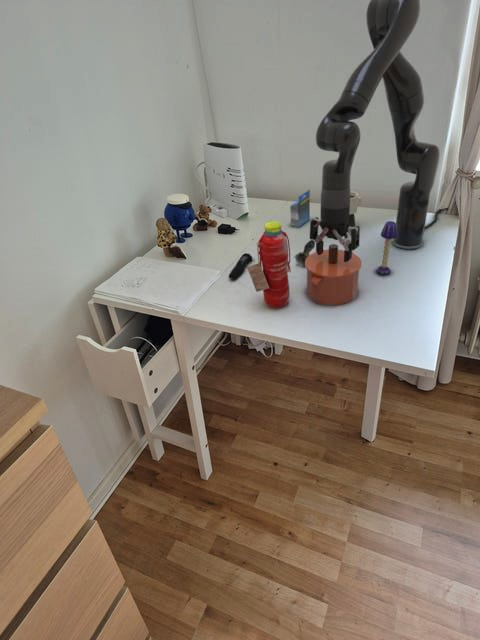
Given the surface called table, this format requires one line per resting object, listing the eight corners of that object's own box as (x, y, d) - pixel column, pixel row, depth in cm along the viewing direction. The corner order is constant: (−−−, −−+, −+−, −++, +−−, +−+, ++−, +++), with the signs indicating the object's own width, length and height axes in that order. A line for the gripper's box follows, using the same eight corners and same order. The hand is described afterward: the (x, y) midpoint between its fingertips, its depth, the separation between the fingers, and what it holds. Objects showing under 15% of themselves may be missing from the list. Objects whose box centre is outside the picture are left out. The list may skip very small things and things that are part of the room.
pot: (292, 300, 129) (291, 272, 124) (328, 270, 141) (328, 244, 135) (336, 315, 121) (337, 286, 115) (370, 283, 133) (372, 255, 127)
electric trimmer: (226, 281, 142) (224, 273, 140) (243, 258, 153) (242, 250, 151) (236, 283, 140) (235, 274, 138) (253, 259, 151) (252, 251, 150)
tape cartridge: (301, 217, 177) (301, 187, 169) (310, 219, 175) (310, 189, 167) (290, 226, 171) (289, 195, 164) (299, 228, 169) (298, 197, 162)
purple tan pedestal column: (392, 269, 138) (399, 219, 128) (391, 277, 134) (398, 226, 125) (376, 268, 139) (382, 219, 130) (375, 275, 136) (380, 225, 126)
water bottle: (257, 316, 124) (250, 235, 109) (248, 302, 130) (241, 223, 116) (296, 306, 126) (295, 225, 112) (286, 292, 133) (283, 214, 118)
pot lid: (294, 270, 125) (293, 250, 122) (323, 248, 135) (324, 229, 131) (343, 285, 117) (344, 265, 113) (371, 261, 126) (373, 241, 122)
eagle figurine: (321, 263, 143) (320, 246, 149) (310, 249, 139) (308, 232, 145) (302, 273, 147) (301, 256, 153) (290, 260, 143) (289, 243, 149)
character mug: (354, 221, 169) (356, 188, 161) (364, 228, 163) (367, 194, 156) (328, 227, 167) (329, 194, 159) (337, 235, 161) (339, 200, 153)
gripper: (367, 202, 113) (362, 258, 122) (319, 193, 121) (318, 246, 130) (352, 212, 108) (349, 269, 118) (304, 202, 116) (304, 256, 126)
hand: (333, 257), depth 124 cm, fingers open, 8 cm apart
